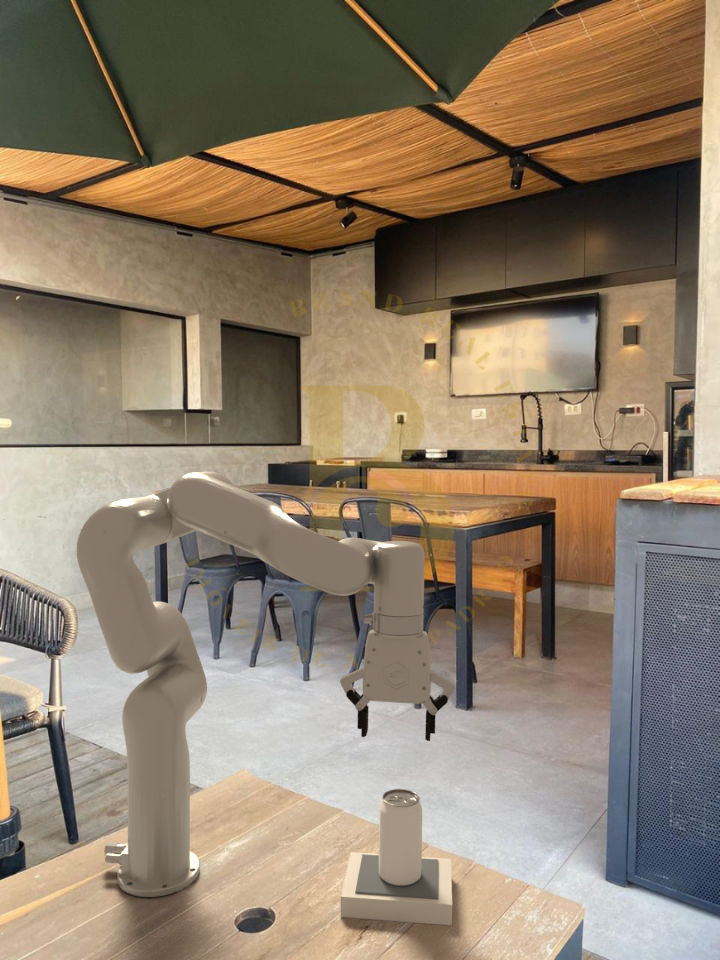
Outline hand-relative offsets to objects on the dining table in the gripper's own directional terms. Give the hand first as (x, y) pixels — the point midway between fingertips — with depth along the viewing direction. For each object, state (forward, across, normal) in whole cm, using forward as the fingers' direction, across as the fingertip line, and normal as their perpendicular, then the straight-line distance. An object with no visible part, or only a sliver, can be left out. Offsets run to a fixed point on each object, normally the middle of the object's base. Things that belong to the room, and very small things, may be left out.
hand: (396, 735), depth 111 cm
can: (+21, +1, -1) cm, 21 cm away
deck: (+24, +1, -1) cm, 24 cm away
